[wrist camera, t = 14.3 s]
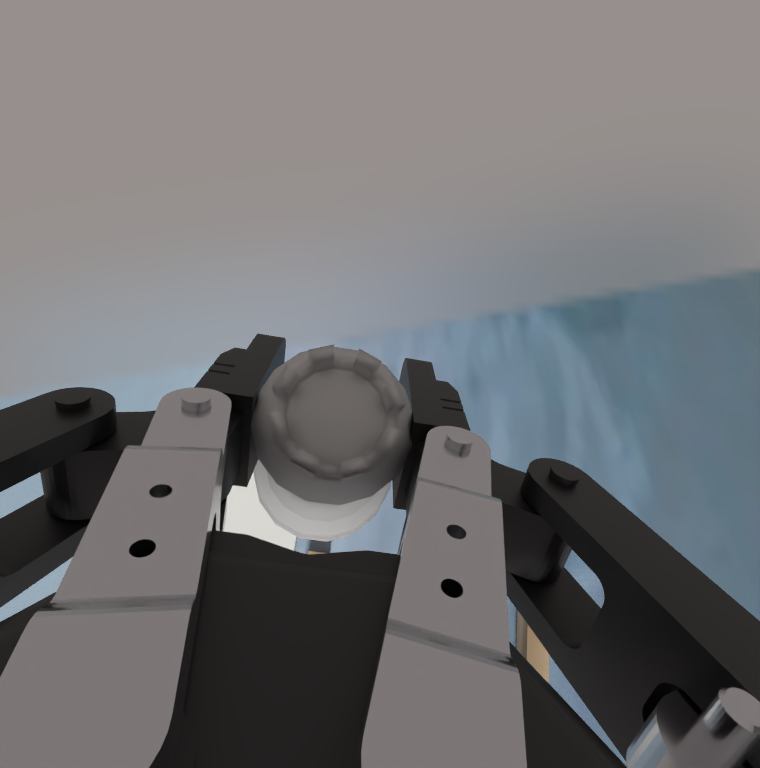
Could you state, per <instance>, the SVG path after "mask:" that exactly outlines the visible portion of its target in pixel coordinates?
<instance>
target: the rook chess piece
mask: <svg viewBox="0 0 760 768" xmlns="http://www.w3.org/2000/svg"><path fill="white" fill-rule="evenodd" d="M381 362H382V361H380V360H378V359H377V358H375V357H373V356H371V355H370V354H368V353H366V352H364V351H363V350H361V349H359V351H357V350H351V349H344V348H338V347H334V345H330V346H325V347H320V348H315V349H311V350H308V351H306V352H301V353H299V354H297V355H296V356H294V357H293V358H291V359H290V360H288V361H287V362H285V363H284V364H282V365H281V366H279V367H278V368H276V369H275V370H274V371H273V372H272V374H271V375H270V377H269V378H268V380H267V381H266V383H265V384H264V385H263V387H262V388H261V390H260V391H259V393H258V394H257V397H256V402H255V407H254V412H253V417H252V422H251V430H252V435H253V439H254V444H255V448H256V453H257V458H258V461H257V464H256V466H255V469H254V471H253V472H254V478H255V483H256V488H257V492H258V497H259V502H260V503H261V505H262V506H263V507H264V509H265V510H266V512H267V513H268V514H269V516H270V517H271V519H272V520H273V521H274V523H275V524H276V525H278V526H279V527H281V528H283V529H284V530H286V531H288V532H289V533H291V534H293V535H295V536H296V537H298V538H300V539H309V540H318V541H326V542H328V541H331V540H334V539H338V538H341V537H344V536H347V535H351V534H354V533H355V532H356V531H358V530H359V529H360V528H361V527H362V526H364V525H365V524H366V523H367V522H368V521H370V520H371V519H372V518H373V517H374V516H375V515H376V513H377V512H378V510H379V508H380V506H381V504H382V503H383V501H384V499H385V497H386V495H387V493H388V491H389V489H390V483H391V480H393V479H394V478H395V477H396V476H397V475H398V473H399V471H400V469H401V468H402V466H403V464H404V462H405V460H406V458H407V456H408V454H409V452H410V450H411V449H412V441H411V438H410V436H411V426H412V409H411V406H410V402H409V399H408V396H407V393H406V390H405V388H404V387H403V386H402V384H401V383H400V382H399V381H398V380H397V378H396V377H395V376H394V375H393V373H392V372H391V371H390V370H389V369H388V367H387V366H386V365H384V364H382V363H381Z"/></svg>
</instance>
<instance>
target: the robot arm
mask: <svg viewBox="0 0 760 768" xmlns="http://www.w3.org/2000/svg"><path fill="white" fill-rule="evenodd" d="M285 348H286V340H285V338H281V337H274V336H269V335H263V334H257V335H256V337H255V338H254V339H253V341H252V342H251V344H250V345H249V347H248V348H247V350H246V349H240V348H233V349H231V350H229V351H226V352H224V353H222V354H221V355H220V356H219V357H218V358H217V360H216V361H215V362H214V364H213V365H212V366H211V367H210V368H209V370H208V371H207V372H206V373H205V375H204V376H203V377H202V378H201V380H200V381H199V382H198V383H197V385H196V386H195V387H194V388H184V389H179V390H176V391H173V392H170V393H168V394H167V395H165V396H164V397H163V398H162V399H161V401H160V402H159V405H158V407H157V409H156V411H148V412H116V405H115V399H114V397H113V396H112V395H111V394H109V393H107V392H105V391H103V390H99V389H95V388H84V387H76V388H65V389H60V390H55V391H52V392H49V393H46V394H43V395H40V396H37V397H35V398H32V399H29V400H27V401H24V402H21V403H18V404H16V405H13V406H10V407H7V408H5V409H2V410H0V492H1V491H3V490H5V489H7V488H9V487H11V486H13V485H15V484H17V483H19V482H21V481H23V480H25V479H27V478H29V477H31V476H33V475H35V474H37V473H39V472H40V473H41V479H42V485H43V491H44V495H43V496H41V497H39V498H37V499H35V500H34V501H32V502H30V503H28V504H26V505H25V506H23V507H21V508H19V509H17V510H15V511H14V512H12V513H10V514H8V515H6V516H5V517H3V518H1V519H0V607H2V606H3V605H5V604H6V603H7V602H9V601H10V600H12V599H13V598H15V597H16V596H17V595H19V594H20V593H22V592H23V591H25V590H26V589H27V588H29V587H30V586H32V585H33V584H35V583H36V582H37V581H39V580H40V579H42V578H43V577H44V576H46V575H47V574H49V573H50V572H52V571H53V570H54V569H56V568H57V567H59V566H60V565H62V564H63V563H64V562H66V561H67V560H69V559H70V558H72V557H73V558H72V561H71V563H70V565H69V567H68V569H67V571H66V573H65V575H64V577H63V579H62V582H61V584H60V586H59V588H58V590H57V592H55V593H53V594H51V595H50V596H48V597H46V598H44V599H42V600H40V601H38V602H37V603H35V604H33V605H31V606H29V607H27V608H25V609H24V610H22V611H20V612H18V613H16V614H14V615H13V616H11V617H9V618H7V619H5V620H3V621H1V622H0V768H760V621H759V620H758V619H756V618H755V617H754V616H753V615H752V614H750V613H749V612H748V611H747V610H746V609H745V608H743V607H742V606H741V605H740V604H739V603H738V602H736V601H735V600H734V599H733V598H732V597H731V596H729V595H728V594H727V593H726V592H725V591H723V590H722V589H721V588H720V587H719V586H718V585H716V584H715V583H714V582H713V581H712V580H711V579H709V578H708V577H707V576H706V575H705V574H703V573H702V572H701V571H700V570H699V569H698V568H696V567H695V566H694V565H693V564H692V563H691V562H689V561H688V560H687V559H686V558H685V557H684V556H682V555H681V554H680V553H679V552H678V551H676V550H675V549H674V548H673V547H672V546H671V545H669V544H668V543H667V542H666V541H665V540H664V539H662V538H661V537H660V536H659V535H658V534H656V533H655V532H654V531H653V530H652V529H651V528H649V527H648V526H647V525H646V524H645V523H644V522H642V521H641V520H640V519H639V518H638V517H637V516H635V515H634V514H633V513H632V512H631V511H629V510H628V509H627V508H626V507H625V506H624V505H622V504H621V503H620V502H619V501H618V500H617V499H615V498H614V497H613V496H612V495H611V494H609V493H608V492H607V491H606V490H605V489H604V488H602V487H601V486H600V485H599V484H598V483H597V482H595V481H594V480H593V479H592V478H591V477H590V476H588V475H587V474H586V473H585V472H583V471H582V470H580V469H579V468H577V467H575V466H573V465H571V464H568V463H566V462H563V461H560V460H556V459H550V458H540V459H536V460H533V461H532V462H531V463H530V464H529V467H528V469H527V472H526V473H524V472H521V471H518V470H515V469H512V468H509V467H507V466H504V465H501V464H499V463H497V462H495V461H493V460H491V451H490V447H489V445H488V444H487V442H486V441H485V440H484V439H482V438H481V437H480V436H478V435H477V434H475V433H473V432H471V431H470V428H469V425H468V422H467V419H466V416H465V413H464V412H463V406H462V404H461V400H460V397H459V394H458V392H457V391H456V390H455V389H454V388H453V387H452V386H451V385H450V384H449V383H448V382H444V381H438V380H436V378H435V374H434V370H433V366H432V363H431V362H427V361H421V360H414V359H408V358H405V360H404V363H403V367H402V371H401V376H400V381H399V382H400V383H401V384H402V386H403V387H404V388H405V390H406V393H407V396H408V399H409V402H410V406H411V409H412V426H411V436H410V438H411V441H412V449H411V450H410V452H409V454H408V456H407V458H406V460H405V462H404V464H403V466H402V468H401V469H400V471H399V473H398V475H397V476H396V477H395V478H394V479H393V508H396V509H403V510H406V519H405V523H404V527H403V531H402V535H401V539H400V544H399V548H398V552H397V554H389V553H382V552H374V551H353V552H339V553H325V554H303V553H299V552H296V551H293V550H290V549H288V548H285V547H282V546H279V545H276V544H273V543H270V542H267V541H265V540H262V539H259V538H256V537H253V536H250V535H246V534H239V533H231V532H224V527H225V519H226V511H227V496H228V494H229V493H230V491H231V488H232V486H233V485H235V486H242V487H247V486H248V483H249V481H250V478H251V476H252V473H253V471H254V469H255V466H256V464H257V461H258V458H257V453H256V448H255V444H254V439H253V435H252V430H251V422H252V417H253V412H254V407H255V402H256V397H257V394H258V393H259V391H260V390H261V388H262V387H263V385H264V384H265V383H266V381H267V380H268V378H269V377H270V375H271V374H272V372H273V371H274V370H275V369H276V368H278V367H279V366H281V365H282V364H284V358H285ZM571 550H573V551H574V552H575V553H576V554H577V555H578V556H579V557H580V558H581V559H582V560H583V561H584V562H585V563H586V564H587V566H588V567H589V568H590V569H591V570H592V571H593V572H594V573H595V574H596V575H597V577H598V578H599V580H600V582H601V584H602V586H603V589H604V595H605V600H604V604H603V606H602V608H600V607H599V606H598V605H597V604H596V603H595V601H594V600H593V599H592V598H591V597H590V596H589V595H588V594H587V592H586V591H585V590H584V589H583V588H582V587H581V586H580V585H579V583H578V582H577V581H576V580H575V579H574V578H573V577H572V575H571V574H570V573H569V572H568V571H567V570H566V569H565V568H564V565H565V563H566V561H567V559H568V556H569V554H570V552H571ZM507 596H508V597H509V599H510V600H511V602H512V603H513V604H514V606H515V607H516V609H517V610H518V611H519V613H520V614H521V615H522V617H523V618H524V620H525V621H526V622H527V624H528V625H529V627H530V628H531V629H532V631H533V632H534V634H535V635H536V636H537V638H538V639H539V641H540V642H541V643H542V645H543V646H544V648H545V649H546V650H547V652H548V653H549V655H550V656H551V657H552V659H553V660H554V662H555V663H556V664H557V666H558V667H559V669H560V670H561V671H562V673H563V674H564V675H565V677H566V678H567V680H568V681H569V682H570V684H571V685H572V687H573V688H574V689H575V691H576V692H577V694H578V695H579V696H580V698H581V699H582V701H583V702H584V703H585V705H586V706H587V708H588V709H589V710H590V712H591V713H592V715H593V716H594V717H595V719H596V720H597V722H598V723H599V724H600V726H601V727H602V729H603V730H604V731H605V733H606V734H607V736H608V737H609V738H610V740H611V741H612V742H613V744H614V745H615V747H616V748H617V749H618V751H619V752H620V754H621V755H622V756H623V758H624V759H625V761H626V765H627V767H626V766H625V765H624V763H623V762H622V761H621V760H620V759H619V758H618V757H617V756H616V755H615V754H614V753H613V752H612V751H611V750H610V749H609V747H608V746H607V745H606V744H605V743H604V742H603V741H602V740H601V739H600V738H599V737H598V736H597V735H596V734H595V732H594V731H593V730H592V729H591V728H590V727H589V726H588V725H587V724H586V723H585V722H584V721H583V720H582V719H581V718H580V716H579V715H578V714H577V713H576V712H575V711H574V710H573V709H572V708H571V707H570V706H569V705H568V704H567V703H566V702H565V700H564V699H563V698H562V697H561V696H560V695H559V694H558V693H557V692H556V691H555V690H554V689H553V688H552V687H551V685H550V684H549V683H548V682H547V681H546V680H545V679H544V678H543V677H542V676H541V675H540V674H539V673H538V672H537V671H536V669H535V668H534V667H533V666H532V665H531V664H530V663H529V662H528V661H527V660H526V659H525V658H524V657H523V656H522V655H521V653H520V652H519V651H518V650H517V649H516V648H515V647H514V646H513V645H512V644H511V643H510V642H509V627H508V608H507Z"/></svg>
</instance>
